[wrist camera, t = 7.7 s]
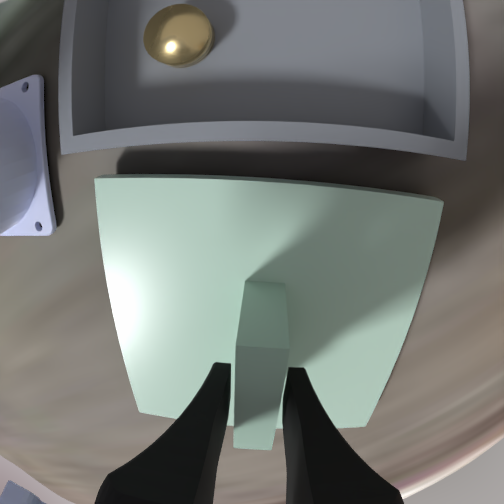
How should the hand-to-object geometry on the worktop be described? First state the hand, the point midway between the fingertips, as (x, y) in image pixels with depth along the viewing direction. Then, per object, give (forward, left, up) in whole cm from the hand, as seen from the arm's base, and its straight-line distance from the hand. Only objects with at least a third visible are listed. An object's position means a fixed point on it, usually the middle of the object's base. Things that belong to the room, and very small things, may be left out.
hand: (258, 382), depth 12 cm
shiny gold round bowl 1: (-3, +13, -3) cm, 14 cm away
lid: (0, 0, -3) cm, 3 cm away
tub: (0, +16, -4) cm, 16 cm away
